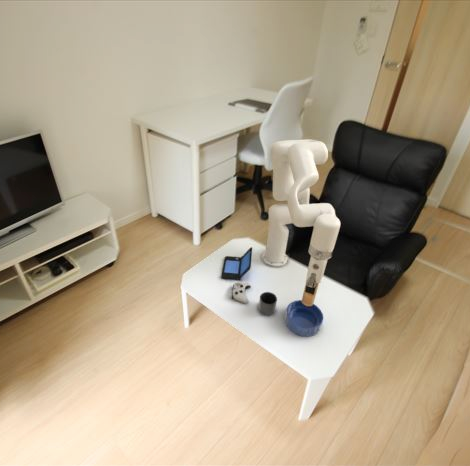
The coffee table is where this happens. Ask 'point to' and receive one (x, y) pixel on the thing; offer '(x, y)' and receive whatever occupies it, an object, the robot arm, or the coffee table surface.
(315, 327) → the bowl
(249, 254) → the game console
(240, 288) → the gaming controller
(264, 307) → the cup
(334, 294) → the coffee table surface
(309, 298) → the dowel
